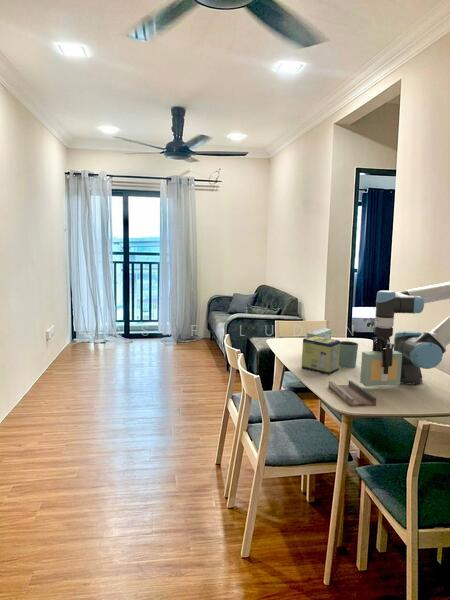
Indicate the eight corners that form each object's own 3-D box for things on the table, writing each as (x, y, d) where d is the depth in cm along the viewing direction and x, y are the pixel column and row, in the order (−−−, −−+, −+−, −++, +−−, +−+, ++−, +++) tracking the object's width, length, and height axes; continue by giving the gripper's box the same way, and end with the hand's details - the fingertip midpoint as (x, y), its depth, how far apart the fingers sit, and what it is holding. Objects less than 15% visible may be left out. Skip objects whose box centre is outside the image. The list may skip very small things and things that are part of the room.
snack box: (314, 362, 229) (315, 334, 227) (304, 360, 233) (306, 332, 231) (330, 354, 246) (332, 328, 244) (321, 352, 249) (322, 327, 247)
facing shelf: (350, 386, 191) (351, 380, 190) (375, 405, 169) (376, 398, 169) (327, 387, 189) (328, 380, 189) (350, 406, 168) (350, 399, 167)
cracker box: (393, 381, 193) (395, 350, 191) (400, 384, 188) (402, 353, 186) (360, 382, 191) (362, 351, 189) (365, 386, 186) (367, 354, 184)
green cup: (357, 369, 218) (359, 346, 217) (337, 367, 220) (338, 344, 219) (355, 363, 228) (357, 341, 227) (336, 362, 230) (337, 340, 228)
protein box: (310, 364, 224) (312, 335, 222) (338, 370, 215) (340, 340, 213) (300, 368, 216) (302, 338, 214) (329, 375, 207) (331, 343, 205)
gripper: (365, 322, 194) (362, 372, 198) (387, 331, 177) (383, 385, 180) (381, 322, 196) (377, 372, 199) (403, 330, 178) (399, 385, 181)
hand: (380, 378), depth 189 cm, fingers closed on cracker box, 5 cm apart
